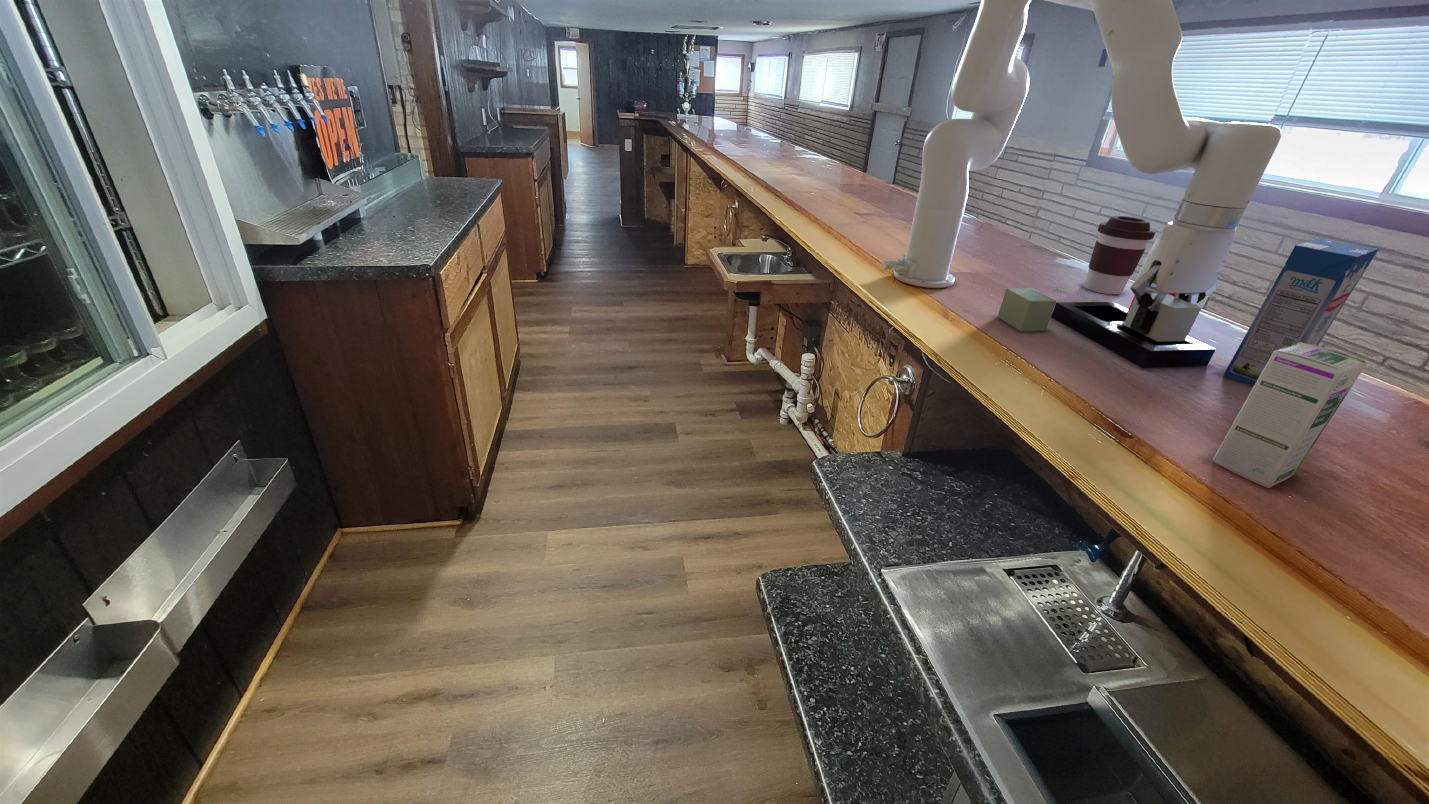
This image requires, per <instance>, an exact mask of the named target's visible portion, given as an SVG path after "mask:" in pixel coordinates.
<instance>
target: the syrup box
mask: <svg viewBox="0 0 1429 804" xmlns="http://www.w3.org/2000/svg"><path fill="white" fill-rule="evenodd" d="M1367 364H1368V363H1367V361H1366V360H1363V359H1361V358H1359V357H1355V356H1352V355H1350V354H1348V353H1344V352H1341V351H1337V350H1334V349H1332V348H1331V349H1330V348H1328V347H1323V346H1319V345H1318V346H1315V345H1310V344H1306V343H1302V342H1299V343H1297V344H1295V345H1293V346H1288V347H1285V348H1282V349H1279V350H1276V351H1273V353H1272V355H1271V357H1270V359H1269V361H1268V362H1267V364H1266V366H1265V368H1264V369H1263V371H1262V373H1261V375H1260V376H1259V378H1258V380H1257V382H1256V383H1255V385H1254V386H1252V388H1251V390H1250V392H1249V394H1248V395H1247V398H1246V399H1245V401H1244V402H1243V404H1242V407H1241V408H1240V410H1239V411H1238V413H1237V415H1236V417H1235V418H1234V420H1233V422H1232V424H1231V426H1230V427H1229V429H1228V430H1227V433H1226V434H1225V436H1224V438H1223V439H1222V442H1221V444H1220V445H1219V447H1218V448H1217V450H1216V452H1215V454H1214V456H1213V458H1212V462H1213V463H1215V464H1216V465H1218V466H1220V467H1222V468H1224V469H1225V470H1228V471H1230V472H1232V473H1233V474H1236V475H1238V476H1240V477H1242V478H1244V479H1247V480H1249V481H1251V482H1253V483H1255V484H1258V485H1260V486H1262V487H1264V488H1266V489H1270V488H1272V487H1273V486H1276V485H1279V484H1280V483H1282V482H1284V481H1286V480H1287V479H1289V478H1291V477H1293V476H1294V475H1296V472H1297V471H1298V469H1299V468H1300V466H1301V465H1302V464H1303V462H1304V460H1305V459H1306V457H1307V456H1308V454H1309V453H1310V451H1311V449H1312V448H1313V447H1314V445H1315V444H1316V442H1317V441H1318V439H1319V438H1320V436H1321V435H1322V434H1323V431H1324V430H1325V428H1326V427H1327V425H1328V424H1329V423H1330V421H1331V419H1332V418H1333V416H1334V415H1335V414H1336V412H1337V411H1338V409H1339V407H1340V406H1341V404H1342V403H1343V401H1344V400H1345V398H1346V397H1347V395H1348V393H1349V392H1350V390H1351V389H1352V388H1353V386H1354V384H1355V383H1356V381H1357V379H1358V378H1359V377H1360V375H1361V374H1362V372H1363V371H1364V369H1365V367H1366V366H1367Z"/></svg>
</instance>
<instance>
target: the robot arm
mask: <svg viewBox="0 0 1429 804" xmlns="http://www.w3.org/2000/svg"><path fill="white" fill-rule="evenodd" d="M1032 1H1033V0H981V1H980V4H979V7H978V11H977V14H976V18H975V20H974V23H973V25H972V29H971V31H970V33H969V36H968V39H967V42H966V45H965V48H964V50H963V53H962V56H961V59H960V61H959V65H958V67H957V70H956V73H955V75H954V79H953V81H952V84H951V89H950V98H951V102H952V104H953V106H954V107H956V108H957V109H958V110H959V111H962V112H966V113H967V112H968V113H970V115H969V118H950V119H947V120H944V121H941V122H939V123H938V124H937V125H935V126H934V127H933V128H932V129H931V130H930V131H929V132H928V134H927V135H926V138H925V140H924V143H923V147H922V153H921V175H920V182H919V189H918V193H917V199H916V204H915V208H914V213H913V217H912V223H911V227H910V232H909V237H908V241H907V246H906V251H905V254H902V255H900V257H899V258H898V259H896V260H883V261H882V263H881V268H882V270H885V271H886V270H892V272H894V274H893V276H894V278H895V279H896V280H897V281H900V282H902V283H903V284H904V283H905V284H907V285H911V286H915V287H920V288H921V287H922V288H931V289H942V288H948V287H951V286H953V285H954V284H955V279H956V277H954V275H952V274H951V273H950V270H951V269H950V268H951V264H952V261H953V255H954V253H955V248H956V244H957V241H958V236H959V233H960V229H961V225H962V221H963V217H964V214H965V210H966V205H967V201H968V195H969V171H979V170H983V169H985V168H988V167H989V166H991V165H992V164H994V163H995V162H996V161H997V160H998V158H999V157H1000V156H1001V154H1002V152H1003V150H1004V149H1005V146H1006V145H1007V142H1008V140H1009V137H1010V135H1011V133H1012V130H1013V128H1014V126H1015V124H1016V121H1017V119H1018V116H1019V115H1020V113H1021V109H1022V107H1023V105H1024V102H1025V100H1026V98H1027V94H1028V92H1029V87H1030V73H1029V70H1028V69H1029V68H1028V66H1027V65H1026V64H1025V62H1024V61H1022V60H1021V59H1020V58H1018V57H1017V56H1016V54H1017V51H1018V48H1019V45H1020V43H1021V40H1022V38H1023V36H1024V33H1025V29H1026V26H1027V21H1028V12H1029V11H1028V10H1029V5H1030V3H1031V2H1032ZM1044 1H1045V2H1050V3H1053V4H1058V5H1062V6H1068V7H1072V8H1073V7H1074V8H1079V9H1083V10H1088V11H1092V12H1093V13H1094V17H1095V19H1096V22H1097V26H1098V28H1099V31H1100V32H1099V33H1100V34H1101V38H1102V42H1103V44H1104V47H1105V52H1106V54H1107V57H1108V60H1109V64H1110V68H1111V72H1112V76H1111V85H1110V86H1111V87H1110V88H1111V111H1112V117H1113V121H1114V125H1115V129H1116V131H1117V135H1118V137H1119V141H1120V145H1121V147H1122V150H1123V152H1124V155H1125V157H1126V159H1127V161H1128V162H1129V163H1130V165H1131V166H1132V167H1133V168H1134V169H1135V170H1137V171H1139V172H1141V173H1143V174H1148V175H1149V174H1150V175H1156V174H1166V173H1167V174H1168V173H1177V172H1178V173H1179V172H1193V174H1192V176H1191V178H1190V180H1189V183H1188V185H1187V187H1186V189H1185V192H1184V194H1183V197H1182V199H1181V201H1180V204H1179V206H1178V208H1177V209H1176V213H1175V215H1174V217H1173V219H1172V221H1170V222H1167V223H1166V225H1165V226H1164V228H1163V229H1162V230H1161V232H1160V233H1159V235H1158V236H1157V238H1156V239H1155V241H1154V242H1153V245H1152V246H1151V248H1150V249H1149V251H1148V253H1147V255H1146V256H1145V257H1146V258H1145V259H1144V261H1143V263H1142V265H1141V268H1140V270H1139V272H1138V274H1137V276H1136V280H1135V281H1134V282H1133V283H1132V284H1131V285H1130V288H1129V289H1130V290H1131V292H1132V293H1133V295H1134V296H1135V297H1136V299H1137V305H1139V307H1138V309H1137V312H1136V314H1135V316H1134V318H1133V321H1132V323H1131V325H1130V328H1131V329H1133V330H1135V331H1137V332H1139V333H1141V334H1143V335H1147V334H1148V333H1149V331H1150V329H1151V327H1152V325H1153V323H1154V321H1155V319H1156V316H1157V314H1158V311H1156V309H1157V308H1158V306H1159V305H1160V303H1161V302H1162V301H1163V299H1164V298H1165V297H1166V295H1167V294H1168V293H1176V298H1179V299H1181V300H1184V301H1186V302H1189V303H1191V304H1194V305H1196V306H1198V304H1199V303H1200V302H1201V301H1203V300H1204V299H1205V298H1206V297H1207V296H1210V295H1211V294H1212V293H1214V292H1215V291H1216V290H1217V289H1218V278H1219V276H1220V275H1221V272H1222V271H1223V268H1224V266H1225V263H1226V261H1227V260H1228V256H1229V254H1230V250H1231V248H1232V246H1233V242H1234V240H1235V237H1236V233H1237V227H1238V225H1239V224H1240V221H1241V220H1242V217H1243V215H1244V213H1245V211H1246V209H1247V208H1248V206H1249V203H1250V201H1251V199H1252V197H1253V196H1254V193H1255V192H1256V189H1257V187H1258V186H1259V184H1260V181H1261V179H1262V178H1263V176H1264V173H1265V171H1266V169H1267V167H1268V166H1269V163H1270V161H1271V159H1272V157H1273V155H1274V153H1275V151H1276V149H1277V147H1278V145H1279V143H1280V140H1281V138H1282V129H1281V128H1280V127H1278V126H1277V125H1273V124H1268V123H1257V122H1240V121H1231V122H1229V121H1228V122H1220V121H1215V120H1210V119H1206V118H1201V117H1196V116H1184V115H1183V111H1182V108H1181V106H1180V103H1179V99H1178V96H1177V92H1176V89H1175V84H1174V78H1173V77H1174V76H1173V65H1174V61H1175V60H1174V59H1175V57H1176V55H1177V53H1178V51H1179V49H1180V47H1181V44H1182V41H1183V32H1182V31H1183V30H1182V27H1181V25H1180V22H1179V19H1178V16H1177V13H1176V10H1175V6H1174V3H1173V0H1044ZM1153 292H1154V293H1157V295H1156V296H1155V297H1154V299H1152V297H1151V295H1152V294H1153Z"/></svg>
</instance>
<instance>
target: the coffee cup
mask: <svg viewBox="0 0 1429 804" xmlns="http://www.w3.org/2000/svg"><path fill="white" fill-rule="evenodd" d="M1097 232H1098V233H1099V234H1098V238H1097V240H1096V241H1095V244H1094V247H1093V250H1092V254H1091V257H1090V260H1089V264H1088V271H1087V274H1086V277H1085V280H1084V285H1083V286H1084V288H1086V289H1087V290H1089V291H1091V292H1095V293H1099V294H1104V295H1120V294H1122V293H1123V292H1124V290H1125V288H1126V286H1127V284H1128V283H1129V279H1130V278H1131V277H1132V275H1134V273H1135V271H1136V269H1137V267H1138V265H1139V263H1140V261H1141V259H1142V257H1143V255H1144V253H1145V251H1146V247H1147V245H1148V242H1149V241H1151V240H1153V239H1154V238H1155V235H1156V233H1157V231H1156V230H1155V229H1153V228H1152V227H1151V221H1149V220H1147V219H1144V218H1140V217H1134V216H1128V215H1127V216H1126V215H1112V216H1111V217H1110V218H1109V219H1108V220H1107V221H1103V222H1102V221H1101V222H1100V223H1099V225H1098V227H1097Z"/></svg>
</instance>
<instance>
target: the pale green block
mask: <svg viewBox="0 0 1429 804" xmlns="http://www.w3.org/2000/svg"><path fill="white" fill-rule="evenodd" d="M1056 302H1057V300H1055V299H1053V298H1052V297H1050V296H1048V295H1046V294H1044V293H1041V292H1040V291H1038V290H1036V289H1034V288H1033V287H1006V289H1005V292H1004V295H1003V298H1002V300H1001V305H1000V307H999V311H998V314H997V318H999V320H1002V321H1003V322H1005V323H1007V324H1008V325H1010V326H1011V327H1013V328H1014V329H1016V330H1018V331H1019V332H1046V331H1047V328H1048V327H1049V323H1050V320H1051V319H1052V318H1051V316H1052V313H1053V310H1054V307H1055V304H1056Z"/></svg>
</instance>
